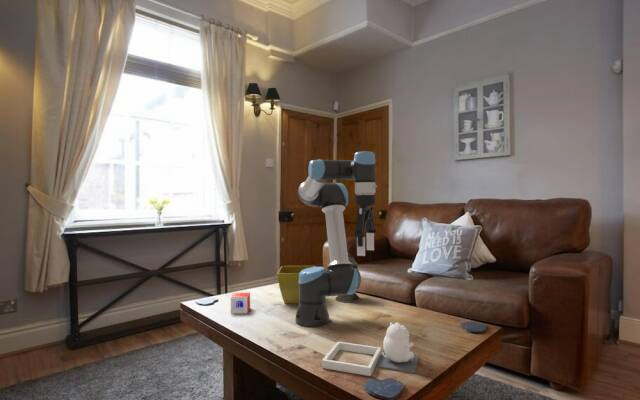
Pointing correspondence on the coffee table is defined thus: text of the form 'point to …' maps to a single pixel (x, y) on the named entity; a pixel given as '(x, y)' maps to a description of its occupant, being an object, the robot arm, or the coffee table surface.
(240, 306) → the red and white cube
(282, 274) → the flower pot
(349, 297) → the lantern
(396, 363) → the coaster pad
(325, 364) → the bin frame
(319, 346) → the coffee table surface
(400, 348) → the figurine
